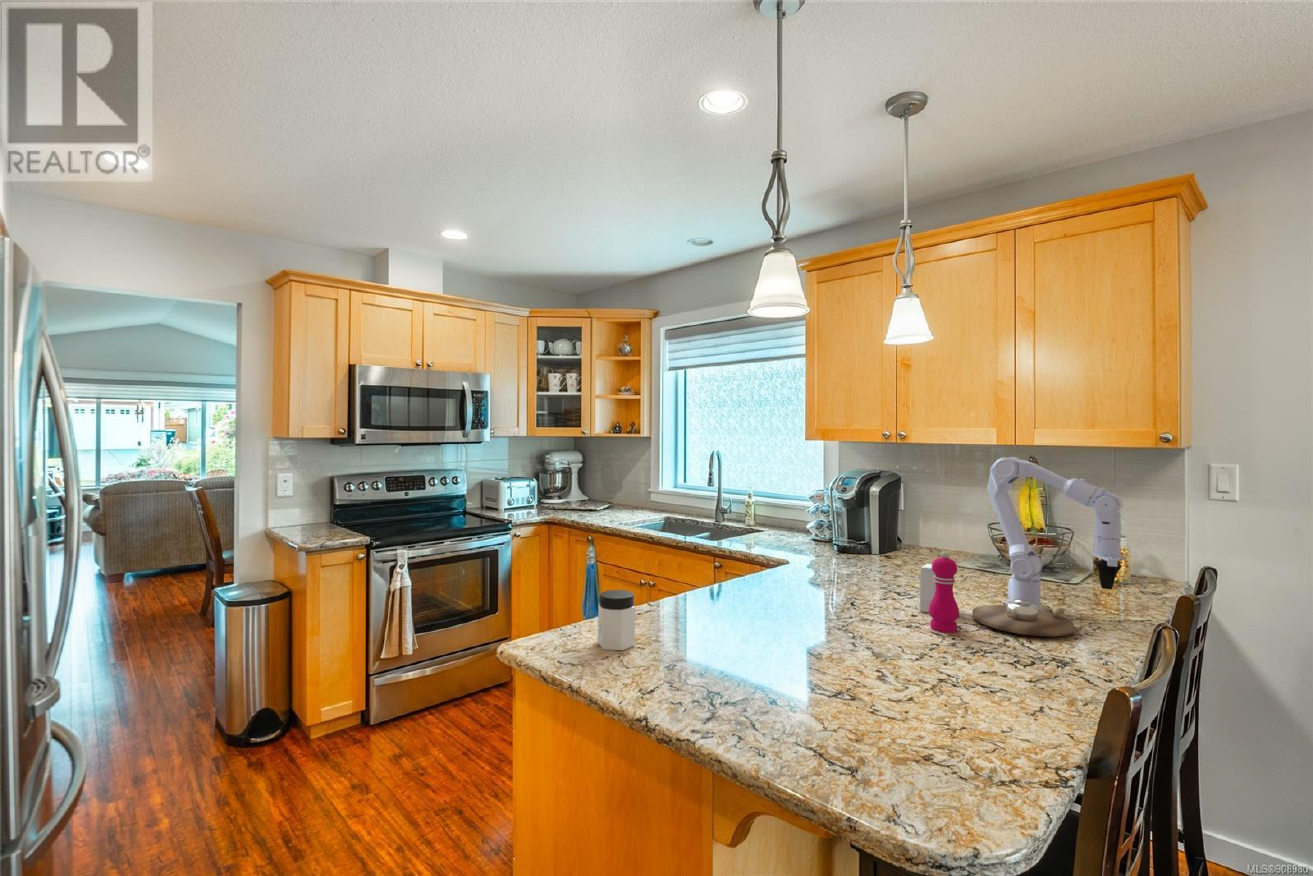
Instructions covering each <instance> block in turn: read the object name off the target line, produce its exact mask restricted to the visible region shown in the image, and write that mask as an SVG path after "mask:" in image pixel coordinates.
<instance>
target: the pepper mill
mask: <svg viewBox="0 0 1313 876" xmlns="http://www.w3.org/2000/svg"><path fill="white" fill-rule="evenodd" d="M940 556H941V557H937V558H935V559H933V561H932V563H931V564H932V571H933V572H934V573H935V575H934V581H935V584H936V589H935V594H934V596H933V598H932V600H931V602H930V605H929V613H928V615H929V616H930V617H931V618H932V619H930V622H929V623H930V627H929V628H931V630H934V631H937V632H940V633H949V632H952V633H956V632H957V630H958V623H957V622H956V621H957V620H958V619H959V617H960V608H959V605H958V604H957V601H956V600H955V599H956V598H955V597H954V584H956V581H955V580H956V577H955V575H956V574H957V572H958V564H957V563H956V561H954V560H953V559H952V558H950V557H949V553H948V552H947V551H942V552H941V553H940Z"/></svg>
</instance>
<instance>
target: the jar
mask: <svg viewBox="0 0 1313 876" xmlns="http://www.w3.org/2000/svg"><path fill="white" fill-rule="evenodd" d="M598 599H599V600H598V602H599V603H598V606H597V607H598V612H597V613H598V614H597V617H598V618H597V619H598V621H597V622H598V623H597V625H598V626H597V627H598V628H597V631H598V632H597V635H598V636H597V643H598V644H599V646H600V648H601V650H604V649H605V650H606V651H615V650H622V651H625V650H628V649H630V648H633V646H634V647H635V646H636V606H635V594H634V593H633V592H632V591H631V590H630V591H629V590H627V589H611V590H610V589H609V590H605V591H602V592H600V593H599V598H598ZM605 650H604V651H605Z"/></svg>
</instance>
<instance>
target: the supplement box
mask: <svg viewBox="0 0 1313 876" xmlns="http://www.w3.org/2000/svg"><path fill="white" fill-rule="evenodd" d="M934 575H935V573H934V572H933V571H932V563H925V564H924V565H923V566H921V567H920V576H919V581H920V582H919V583H920V584H919V612H921V613H922V612H923V613H928V614H929V605H930V602H931V600H932V598H933V596H934V594H935V589H936V584H935V581H934Z"/></svg>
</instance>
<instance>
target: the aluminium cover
mask: <svg viewBox="0 0 1313 876" xmlns="http://www.w3.org/2000/svg"><path fill="white" fill-rule="evenodd" d="M1007 601H1008V600H1007ZM1006 605H1007V617H1009V618H1011V619H1014V620H1019V621H1026V622H1034V621H1037V620H1038V606H1037V605H1035V604H1033V603H1030V601H1029V600H1025V599H1015V600H1014V601H1008V602H1007V604H1006Z"/></svg>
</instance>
